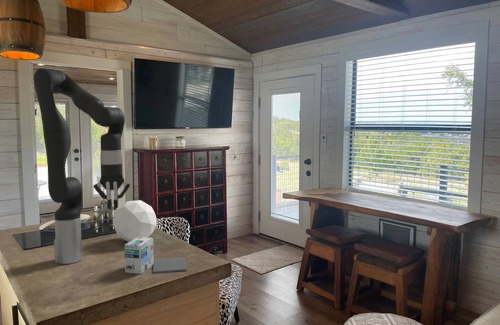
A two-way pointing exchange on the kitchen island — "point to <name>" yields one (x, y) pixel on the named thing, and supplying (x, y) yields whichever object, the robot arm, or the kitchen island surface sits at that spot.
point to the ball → (134, 220)
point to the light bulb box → (139, 255)
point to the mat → (169, 265)
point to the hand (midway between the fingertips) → (113, 209)
